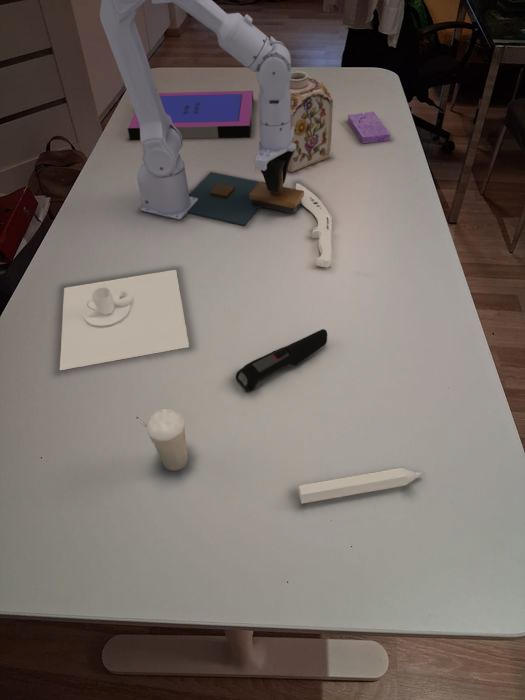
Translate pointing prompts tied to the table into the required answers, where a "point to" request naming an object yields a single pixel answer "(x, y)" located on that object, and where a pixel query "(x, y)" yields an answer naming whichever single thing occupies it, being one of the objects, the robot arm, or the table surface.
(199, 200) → the mat
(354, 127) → the sponge
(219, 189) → the grime chip
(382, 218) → the table surface
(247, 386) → the electric trimmer
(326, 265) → the knife
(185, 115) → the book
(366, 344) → the table surface
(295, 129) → the decorative jar
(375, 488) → the white pencil
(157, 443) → the milkshake
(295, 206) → the brush
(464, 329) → the table surface
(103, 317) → the teacup and saucer
